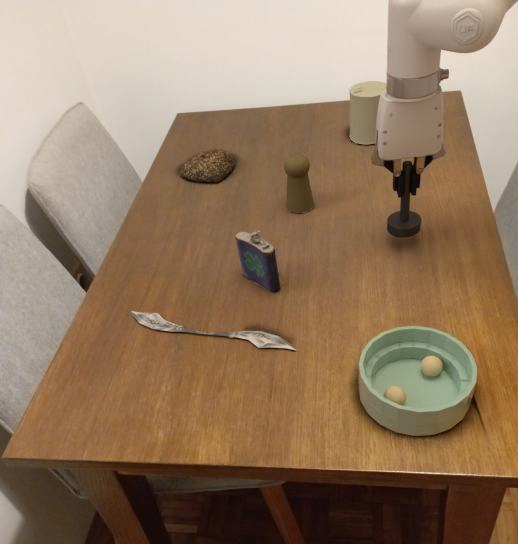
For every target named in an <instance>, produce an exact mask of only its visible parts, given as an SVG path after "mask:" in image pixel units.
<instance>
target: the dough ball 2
mask: <svg viewBox="0 0 518 544" xmlns="http://www.w3.org/2000/svg"><path fill="white" fill-rule="evenodd" d="M442 368H443V364H442V362H441V360H440V359H439V358H438V357H436V356H427V357H426V358H424V359H423V360H422V362H421V370H422V372H423V373H424V374H425V375H427V376H430V377H434V376H437V375H438V374H440V373H441V371H442Z"/></svg>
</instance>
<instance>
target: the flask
mask: <svg viewBox="0 0 518 544" xmlns="http://www.w3.org/2000/svg"><path fill="white" fill-rule="evenodd" d="M259 233H260V234H261V230H260V229H255V230H254V231H252V232H246V231H239V232H237V233H236V234H235V241H236V247H237V251H238V258H239V262H240V269H241V275H242V276H243V277H244V278H245V279H246V280H249V281H251V282H252V283H253V284H255V285H258V286H260V287H261V288H263V289H264V290H266V291H267V292H269V293H270V294H277V293H279V292H280V291H281V290H282V287H281V282H280V275H279V269H278V262H277V261H278V260H277V256H276V248H275V247H274V246H273V245H272V244H271V243H269V242H268V241H267V240H265V239H264V238H263V237H262V236H260V235H259Z"/></svg>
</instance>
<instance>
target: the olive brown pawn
mask: <svg viewBox="0 0 518 544" xmlns="http://www.w3.org/2000/svg"><path fill="white" fill-rule="evenodd" d="M310 167H311V163H310V160H309V158H308V157H307V156H306V155H304V154H300V153H296V154H292V155H289V156H288V157H286V158H285V160H284V164H283V169H284V172H285V174H286V177H287V178H286V181H287V182H286V196H285V199H286V200H285V208H287V209H286V211H287V212H289V211H290V212H289V213H291V212H293V213H292V214H294V213H302V214H304V213H303V212H306V211H309V210H310V209H311V208H312V207H313V206H314V207H315V202H314V201H315V200H314V195H313V191H312V187H311V181H310V177H309V171H310ZM314 207H313V208H314ZM310 211H311V210H310ZM310 211H309V212H310ZM306 213H307V212H306Z"/></svg>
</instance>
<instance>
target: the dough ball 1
mask: <svg viewBox="0 0 518 544" xmlns="http://www.w3.org/2000/svg"><path fill="white" fill-rule="evenodd" d="M384 398H386V399H388V400H390V401H393V402H395V403H397V404H399V405H403V404H404V403H405V401H406V393H405V391H404V390H403V389H402V388H401V387H399V386H391V387H389V388H387V389H386V391H385V392H384Z"/></svg>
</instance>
